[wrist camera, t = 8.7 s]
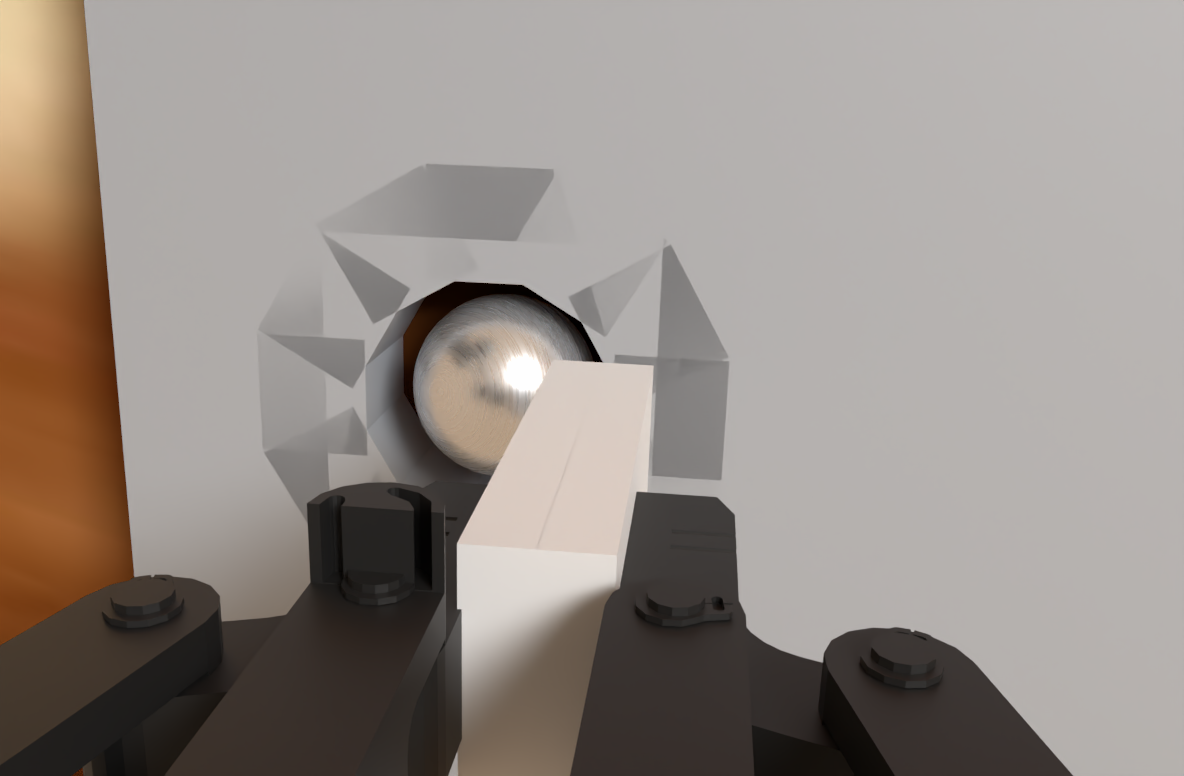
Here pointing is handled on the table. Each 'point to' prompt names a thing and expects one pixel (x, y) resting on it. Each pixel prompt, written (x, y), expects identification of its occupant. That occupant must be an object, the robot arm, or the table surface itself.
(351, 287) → the plate
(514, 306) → the steel ball
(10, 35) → the table surface
